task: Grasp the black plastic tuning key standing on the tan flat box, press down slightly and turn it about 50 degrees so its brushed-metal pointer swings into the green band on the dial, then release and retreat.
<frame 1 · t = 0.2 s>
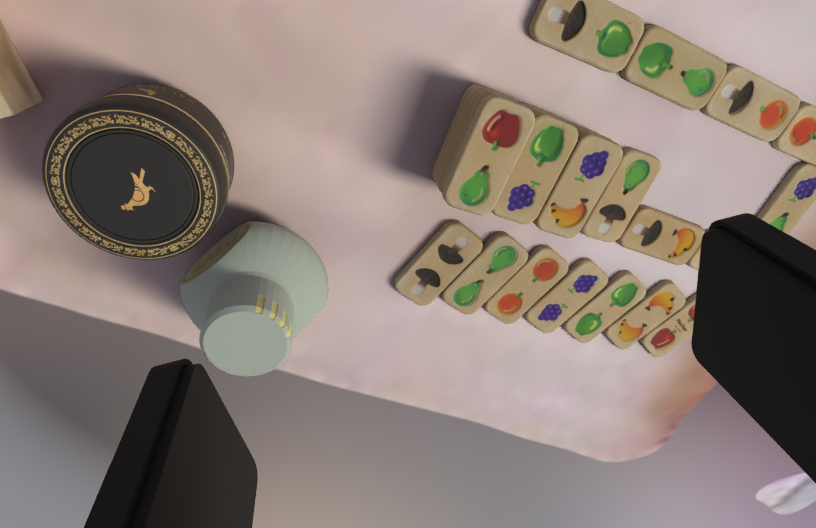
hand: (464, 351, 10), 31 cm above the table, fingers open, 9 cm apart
jar: (167, 149, 37), on the table
pale green rounded vessel: (260, 268, 43), on the table
pile of dominoes: (617, 207, 46), on the table
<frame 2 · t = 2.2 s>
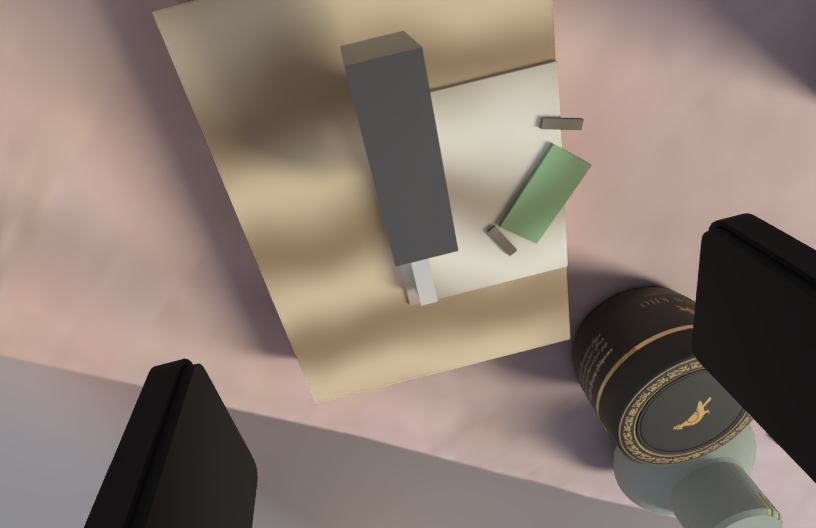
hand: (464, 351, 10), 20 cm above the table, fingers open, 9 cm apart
jar: (628, 334, 38), on the table
tan flat box: (397, 182, 30), on the table
pale green rounded vessel: (660, 425, 44), on the table
peg: (410, 208, 22), point 8 cm above the table, hinge at 0.0°
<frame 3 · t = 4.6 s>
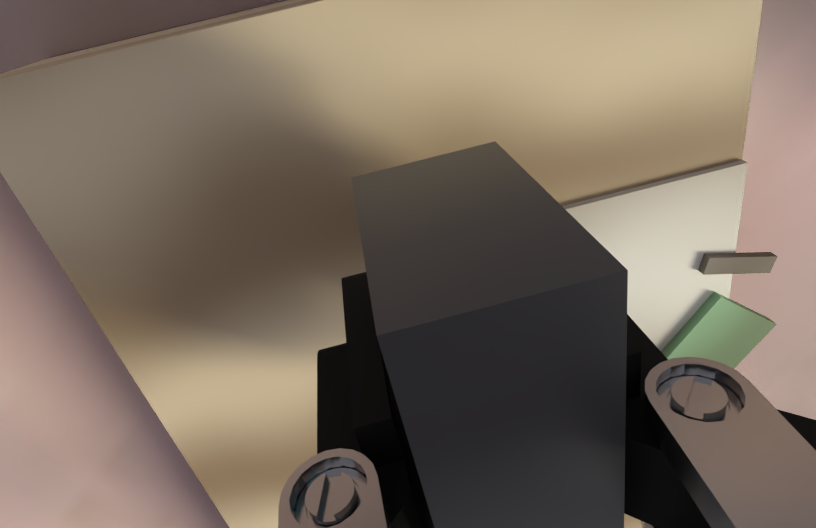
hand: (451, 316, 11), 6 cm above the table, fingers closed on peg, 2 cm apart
tan flat box: (434, 322, 19), on the table
peg: (487, 464, 11), point 8 cm above the table, hinge at 0.0°, touching gripper
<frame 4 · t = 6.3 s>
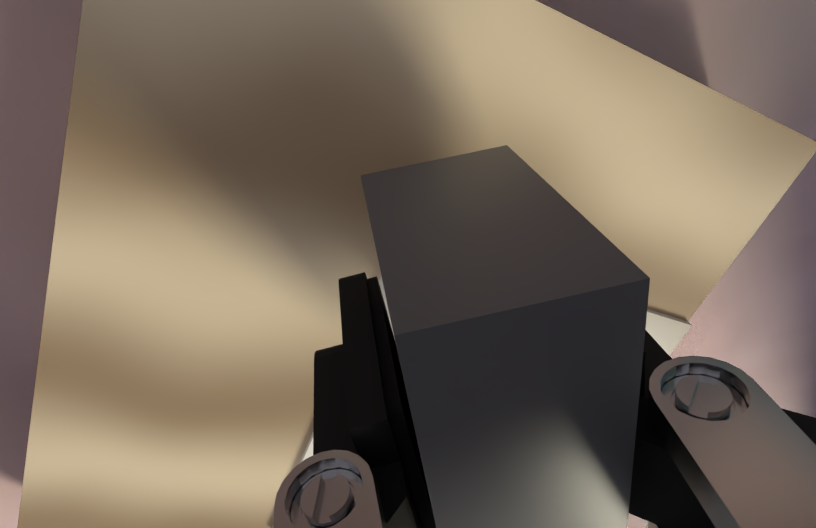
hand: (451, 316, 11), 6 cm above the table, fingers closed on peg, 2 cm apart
tan flat box: (351, 325, 18), on the table
peg: (482, 470, 11), point 8 cm above the table, hinge at 31.8°, touching gripper
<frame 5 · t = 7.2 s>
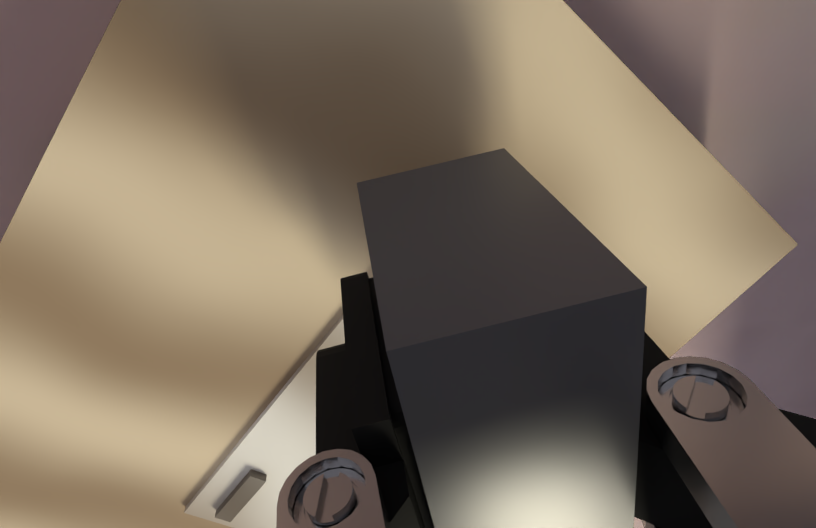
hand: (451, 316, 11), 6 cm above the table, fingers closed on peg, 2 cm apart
tan flat box: (317, 314, 18), on the table
peg: (489, 475, 11), point 8 cm above the table, hinge at 48.9°, touching gripper
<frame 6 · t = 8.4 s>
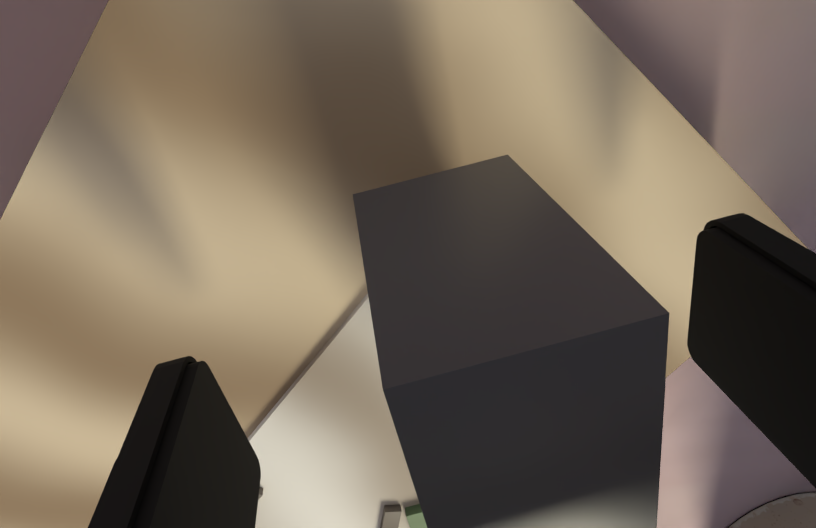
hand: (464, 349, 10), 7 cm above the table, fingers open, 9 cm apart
tan flat box: (316, 322, 17), on the table
peg: (498, 492, 11), point 8 cm above the table, hinge at 50.3°
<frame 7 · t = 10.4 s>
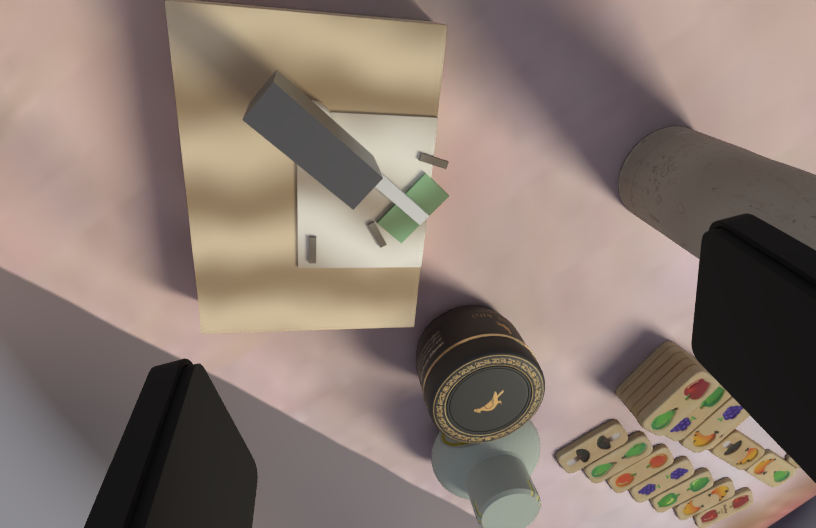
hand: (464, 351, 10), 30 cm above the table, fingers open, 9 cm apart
jar: (463, 343, 49), on the table
tan flat box: (311, 175, 39), on the table
pale green rounded vessel: (476, 428, 55), on the table
pile of dominoes: (715, 425, 62), on the table
peg: (355, 168, 31), point 8 cm above the table, hinge at 50.4°
thermos bottle: (660, 172, 44), on the table
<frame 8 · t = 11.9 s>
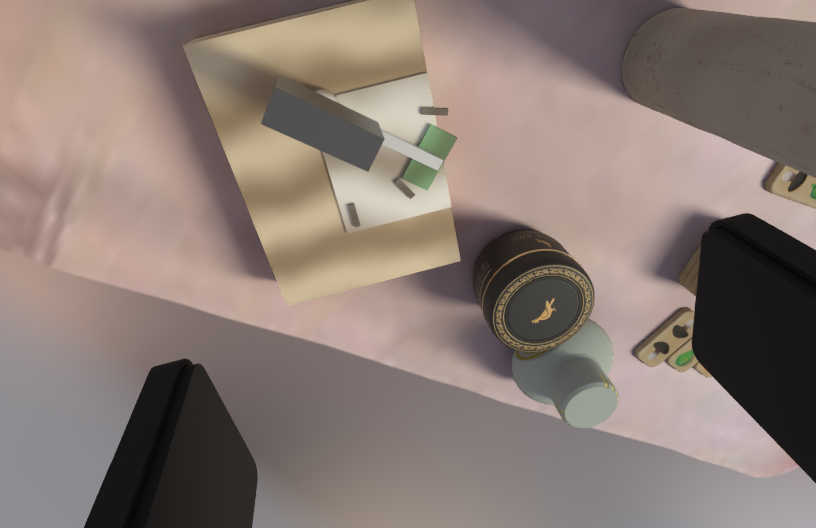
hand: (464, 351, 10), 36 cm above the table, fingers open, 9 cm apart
jar: (515, 267, 53), on the table
tan flat box: (339, 153, 44), on the table
pale green rounded vessel: (550, 342, 59), on the table
pile of dominoes: (798, 292, 62), on the table
peg: (365, 137, 36), point 8 cm above the table, hinge at 50.5°
thermos bottle: (664, 59, 45), on the table
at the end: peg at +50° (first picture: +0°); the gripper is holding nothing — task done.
